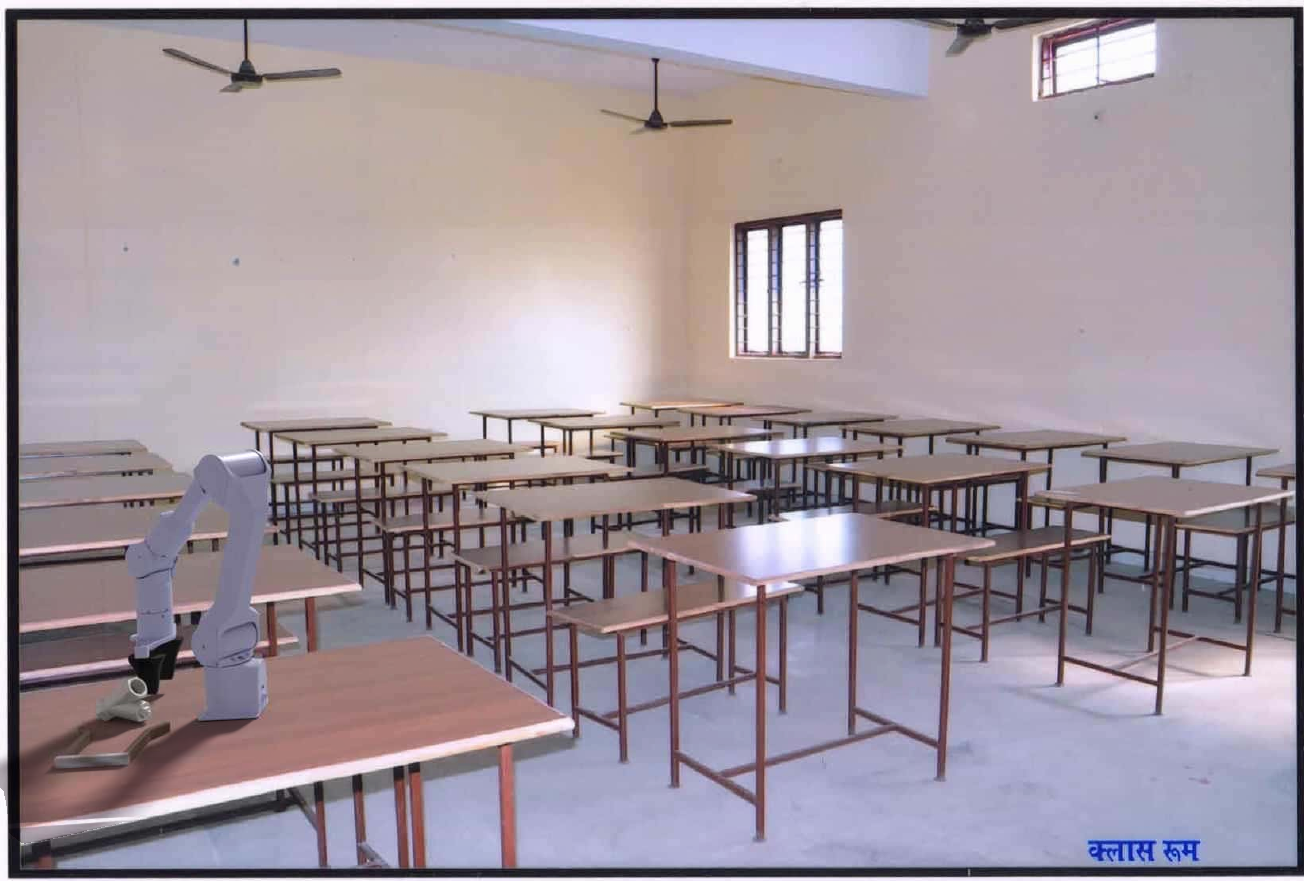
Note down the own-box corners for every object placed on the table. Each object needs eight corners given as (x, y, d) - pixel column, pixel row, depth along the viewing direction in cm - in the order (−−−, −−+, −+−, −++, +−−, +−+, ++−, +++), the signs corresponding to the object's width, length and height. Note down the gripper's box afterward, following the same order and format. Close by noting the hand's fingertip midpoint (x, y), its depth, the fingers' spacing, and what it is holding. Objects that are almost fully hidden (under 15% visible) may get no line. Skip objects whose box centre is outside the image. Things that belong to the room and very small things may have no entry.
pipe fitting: (162, 708, 168) (140, 674, 168) (146, 717, 164) (123, 682, 164) (129, 732, 170) (107, 698, 170) (112, 741, 166) (89, 706, 166)
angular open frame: (171, 730, 163) (171, 721, 163) (141, 764, 150) (140, 754, 150) (79, 735, 161) (79, 725, 161) (40, 769, 148) (40, 759, 148)
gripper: (145, 600, 182) (149, 674, 184) (113, 622, 168) (117, 702, 169) (187, 598, 183) (190, 672, 185) (158, 620, 169) (162, 700, 170)
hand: (158, 686), depth 177 cm, fingers open, 7 cm apart
